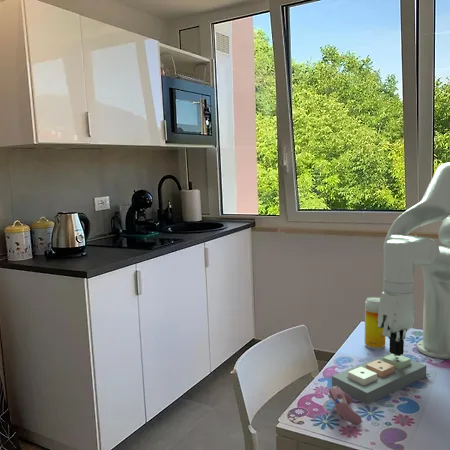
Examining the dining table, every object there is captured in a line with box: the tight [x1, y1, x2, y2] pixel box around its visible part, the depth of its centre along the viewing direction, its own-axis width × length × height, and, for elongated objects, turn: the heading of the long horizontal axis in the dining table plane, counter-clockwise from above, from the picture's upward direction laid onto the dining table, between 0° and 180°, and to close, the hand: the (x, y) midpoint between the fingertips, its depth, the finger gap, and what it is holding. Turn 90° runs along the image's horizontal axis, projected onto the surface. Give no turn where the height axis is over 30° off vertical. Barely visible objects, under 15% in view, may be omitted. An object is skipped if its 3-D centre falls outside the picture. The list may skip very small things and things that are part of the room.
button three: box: [383, 354, 412, 370], centre depth 124 cm, size 5×5×3 cm
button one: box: [348, 367, 377, 386], centre depth 116 cm, size 5×5×3 cm
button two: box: [366, 360, 394, 378], centre depth 120 cm, size 5×5×3 cm
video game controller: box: [327, 386, 362, 426], centre depth 105 cm, size 10×5×7 cm, turn 179°
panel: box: [331, 352, 427, 406], centre depth 120 cm, size 24×11×3 cm, turn 124°
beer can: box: [364, 296, 386, 350], centre depth 142 cm, size 6×6×15 cm
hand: (396, 353), depth 123 cm, fingers closed
